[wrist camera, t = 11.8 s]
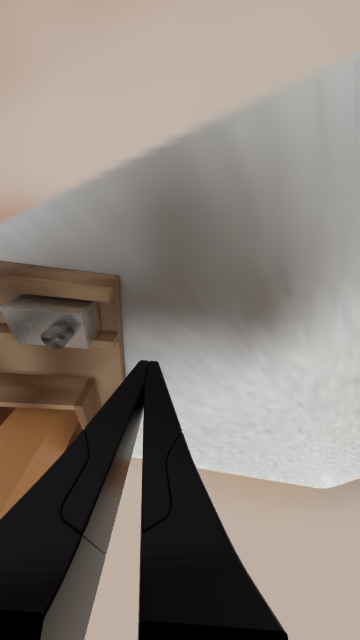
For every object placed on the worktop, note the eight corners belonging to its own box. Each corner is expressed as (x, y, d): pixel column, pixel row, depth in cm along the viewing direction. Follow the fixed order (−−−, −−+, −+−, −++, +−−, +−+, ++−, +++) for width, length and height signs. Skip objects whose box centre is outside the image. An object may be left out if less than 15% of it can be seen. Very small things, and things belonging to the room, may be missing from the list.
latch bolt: (40, 324, 11) (4, 352, 9) (28, 291, 10) (-18, 314, 8) (101, 329, 12) (81, 358, 9) (96, 299, 10) (72, 323, 8)
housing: (29, 417, 19) (-2, 459, 16) (-80, 251, 10) (-218, 269, 6) (128, 421, 20) (118, 461, 17) (118, 275, 11) (91, 301, 7)
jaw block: (46, 414, 17) (-79, 603, 9) (31, 388, 15) (-156, 610, 7) (81, 416, 18) (-7, 599, 9) (72, 391, 15) (-55, 605, 7)
